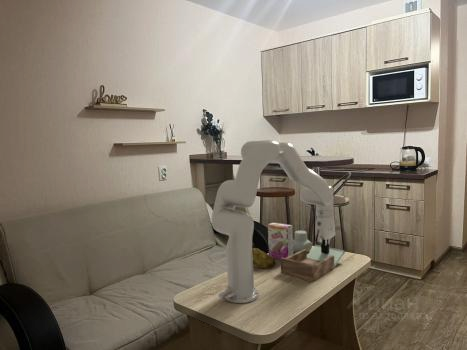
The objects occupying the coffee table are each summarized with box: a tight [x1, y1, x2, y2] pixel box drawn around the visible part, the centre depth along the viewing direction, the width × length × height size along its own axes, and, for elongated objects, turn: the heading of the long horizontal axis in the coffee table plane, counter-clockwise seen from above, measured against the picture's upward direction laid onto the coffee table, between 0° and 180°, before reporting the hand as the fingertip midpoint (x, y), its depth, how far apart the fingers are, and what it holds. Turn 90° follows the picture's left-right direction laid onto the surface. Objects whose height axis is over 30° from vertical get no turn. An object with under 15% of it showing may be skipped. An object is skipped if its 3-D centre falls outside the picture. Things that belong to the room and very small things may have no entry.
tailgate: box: [307, 244, 346, 268], centre depth 157 cm, size 1×15×10 cm
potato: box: [252, 247, 277, 269], centre depth 154 cm, size 8×13×8 cm, turn 50°
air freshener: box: [293, 230, 313, 253], centre depth 171 cm, size 11×8×10 cm
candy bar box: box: [267, 222, 294, 261], centre depth 162 cm, size 11×5×16 cm, turn 50°
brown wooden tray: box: [279, 249, 335, 283], centre depth 147 cm, size 18×15×6 cm
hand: (325, 252), depth 157 cm, fingers closed
